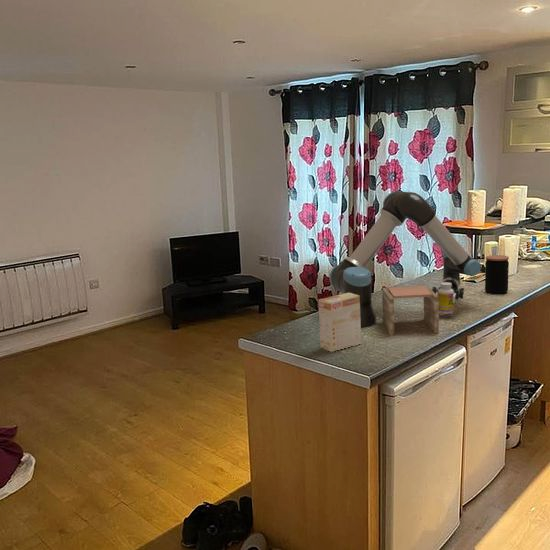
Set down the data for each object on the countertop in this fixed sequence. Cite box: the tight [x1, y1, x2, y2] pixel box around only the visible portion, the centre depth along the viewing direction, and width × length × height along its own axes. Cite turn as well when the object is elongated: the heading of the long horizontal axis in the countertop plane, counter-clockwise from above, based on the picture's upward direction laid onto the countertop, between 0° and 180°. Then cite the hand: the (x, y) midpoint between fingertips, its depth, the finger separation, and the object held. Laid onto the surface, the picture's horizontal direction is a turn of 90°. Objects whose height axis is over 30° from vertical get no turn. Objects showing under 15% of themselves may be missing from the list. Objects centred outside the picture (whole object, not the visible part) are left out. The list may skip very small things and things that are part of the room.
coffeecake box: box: [318, 293, 362, 351], centre depth 209 cm, size 15×7×20 cm, turn 123°
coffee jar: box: [484, 254, 510, 295], centre depth 274 cm, size 11×11×18 cm
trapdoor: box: [386, 285, 432, 299], centre depth 227 cm, size 15×16×1 cm
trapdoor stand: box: [381, 285, 440, 336], centre depth 228 cm, size 19×20×15 cm
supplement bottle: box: [438, 281, 455, 315], centre depth 240 cm, size 7×7×13 cm
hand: (444, 299), depth 235 cm, fingers closed on supplement bottle, 7 cm apart
